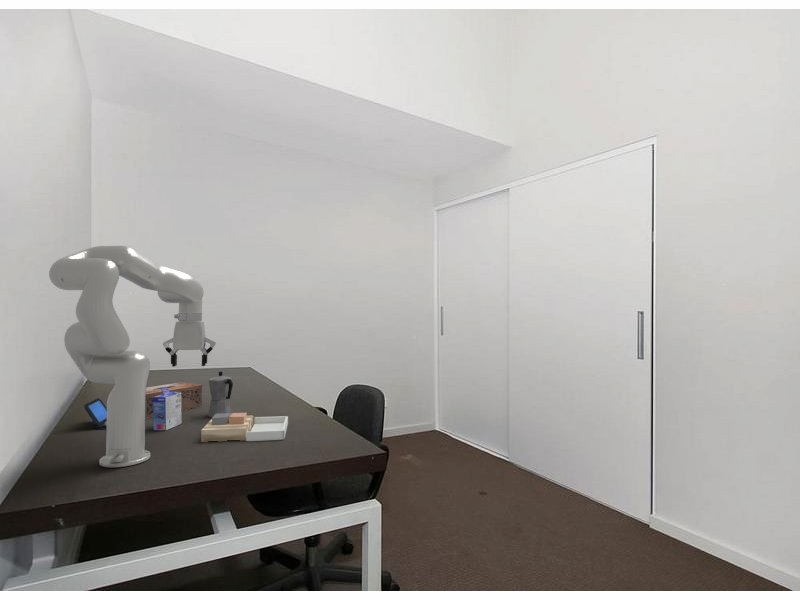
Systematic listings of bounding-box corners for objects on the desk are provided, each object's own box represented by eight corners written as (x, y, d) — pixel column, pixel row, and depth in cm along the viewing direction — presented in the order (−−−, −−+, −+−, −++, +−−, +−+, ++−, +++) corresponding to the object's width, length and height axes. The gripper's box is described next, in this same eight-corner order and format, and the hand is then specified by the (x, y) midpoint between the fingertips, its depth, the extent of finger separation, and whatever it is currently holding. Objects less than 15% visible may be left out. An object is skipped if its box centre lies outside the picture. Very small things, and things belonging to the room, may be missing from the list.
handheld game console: (124, 428, 164) (124, 403, 164) (82, 431, 160) (82, 405, 160) (136, 418, 179) (136, 395, 179) (97, 420, 175) (98, 397, 175)
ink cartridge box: (168, 423, 171) (169, 385, 171) (182, 423, 170) (182, 385, 171) (151, 430, 161) (152, 390, 161) (166, 430, 161) (166, 390, 161)
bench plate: (245, 440, 150) (245, 428, 150) (201, 442, 147) (201, 430, 147) (253, 426, 168) (253, 415, 168) (213, 427, 165) (213, 416, 165)
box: (284, 439, 151) (284, 430, 151) (246, 441, 149) (246, 432, 149) (287, 423, 171) (287, 416, 171) (254, 425, 169) (254, 417, 169)
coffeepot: (200, 414, 185) (201, 371, 185) (222, 410, 192) (222, 368, 192) (220, 421, 175) (220, 374, 175) (242, 416, 182) (242, 372, 183)
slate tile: (227, 424, 155) (227, 417, 155) (211, 425, 154) (212, 417, 154) (230, 420, 160) (230, 413, 160) (215, 420, 160) (215, 413, 160)
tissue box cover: (181, 403, 207) (181, 382, 207) (201, 407, 200) (202, 384, 200) (124, 415, 185) (124, 390, 185) (144, 419, 177) (145, 394, 178)
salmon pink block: (243, 423, 156) (244, 416, 156) (228, 424, 155) (228, 417, 155) (246, 419, 161) (246, 412, 162) (232, 420, 161) (232, 413, 161)
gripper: (160, 317, 154) (159, 367, 154) (214, 318, 158) (213, 366, 157) (167, 317, 162) (165, 365, 161) (217, 318, 165) (216, 364, 165)
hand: (189, 365), depth 159 cm, fingers open, 9 cm apart
